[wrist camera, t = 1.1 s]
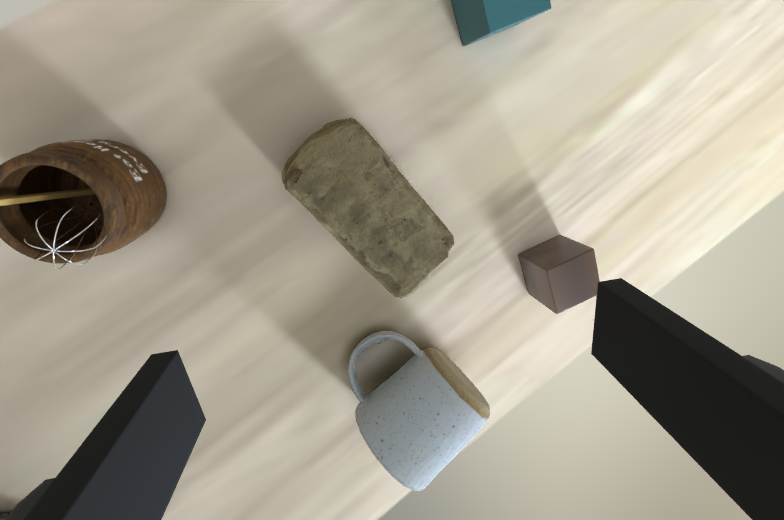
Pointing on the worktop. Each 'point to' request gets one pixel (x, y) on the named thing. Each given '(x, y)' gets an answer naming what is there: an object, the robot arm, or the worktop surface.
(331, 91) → the worktop surface
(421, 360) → the ceramic mug
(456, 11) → the teal block
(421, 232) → the stone block
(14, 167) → the utensil holder
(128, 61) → the worktop surface
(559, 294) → the walnut block
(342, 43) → the worktop surface
